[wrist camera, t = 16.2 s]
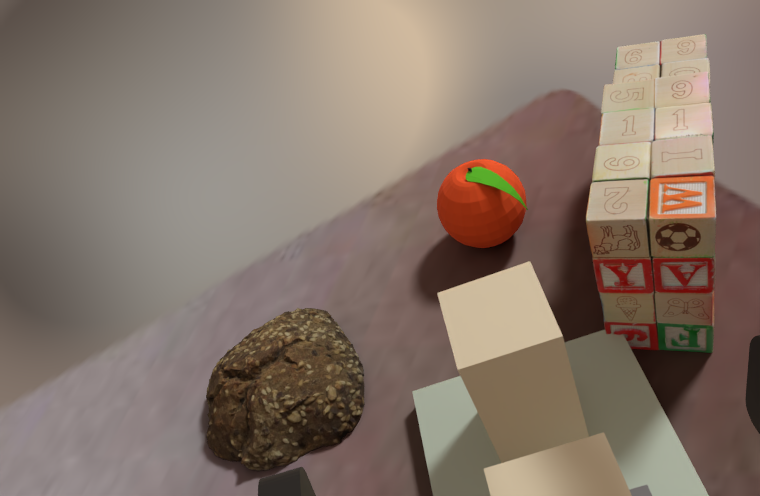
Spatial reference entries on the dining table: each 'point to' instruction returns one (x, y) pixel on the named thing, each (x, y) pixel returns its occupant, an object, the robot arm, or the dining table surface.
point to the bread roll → (285, 391)
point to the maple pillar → (561, 472)
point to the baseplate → (601, 412)
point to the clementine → (481, 203)
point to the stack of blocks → (656, 198)
